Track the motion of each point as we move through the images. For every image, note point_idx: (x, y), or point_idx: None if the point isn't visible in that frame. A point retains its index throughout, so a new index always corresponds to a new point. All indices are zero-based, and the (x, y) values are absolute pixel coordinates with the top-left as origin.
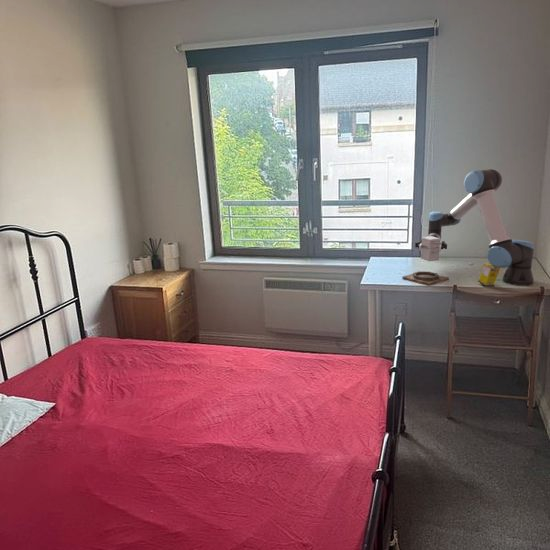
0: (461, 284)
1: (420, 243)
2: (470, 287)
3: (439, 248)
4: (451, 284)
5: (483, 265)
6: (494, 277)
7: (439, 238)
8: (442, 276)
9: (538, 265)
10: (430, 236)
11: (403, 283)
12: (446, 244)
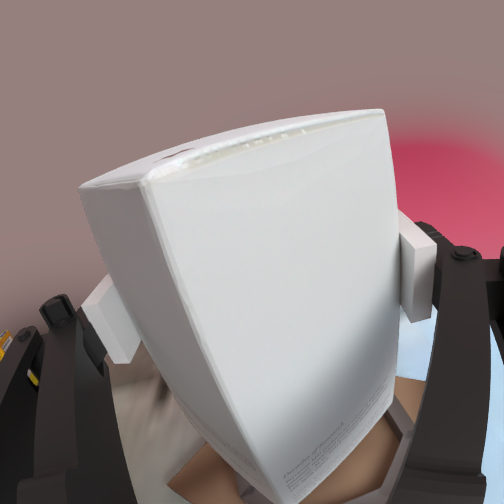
0: (128, 418)
1: (431, 240)
2: None
3: None
4: (173, 408)
5: (3, 351)
6: None
7: (88, 181)
8: (205, 499)
9: None
10: (217, 140)
11: (406, 335)
12: (20, 331)
